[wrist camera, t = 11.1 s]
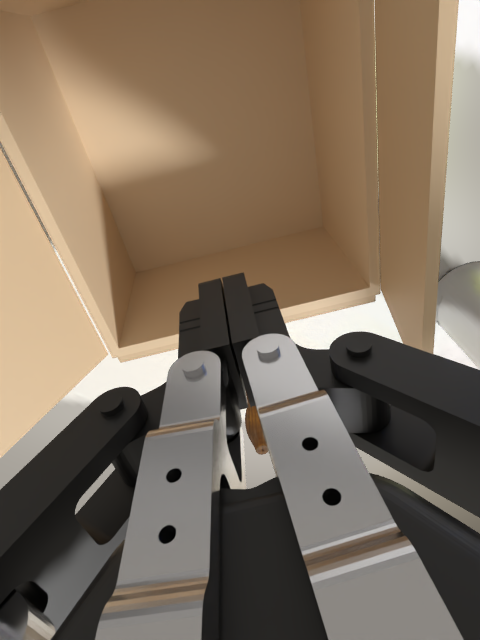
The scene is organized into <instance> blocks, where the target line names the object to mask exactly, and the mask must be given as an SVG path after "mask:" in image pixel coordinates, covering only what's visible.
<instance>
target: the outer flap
mask: <svg viewBox="0 0 480 640" xmlns="http://www.w3.org/2000/svg"><path fill="white" fill-rule="evenodd" d="M107 355H108V353H107V351H106V349H105V347H104V345H103V343H102V341H101V339H100V338H99V336H98V334H97V332H96V330H95V328H94V326H93V324H92V322H91V320H90V318H89V317H88V315H87V313H86V311H85V309H84V307H83V305H82V303H81V301H80V299H79V297H78V296H77V294H76V292H75V290H74V288H73V286H72V284H71V282H70V280H69V278H68V276H67V274H66V273H65V271H64V269H63V267H62V265H61V263H60V261H59V259H58V257H57V255H56V253H55V252H54V250H53V248H52V246H51V244H50V242H49V240H48V238H47V236H46V234H45V232H44V230H43V229H42V227H41V225H40V223H39V221H38V219H37V217H36V215H35V213H34V211H33V209H32V208H31V206H30V204H29V202H28V200H27V198H26V196H25V194H24V192H23V190H22V188H21V187H20V185H19V183H18V181H17V179H16V177H15V175H14V173H13V171H12V169H11V167H10V165H9V164H8V162H7V160H6V158H5V156H4V154H3V152H2V150H1V148H0V458H1V457H2V456H3V455H4V454H5V453H6V452H7V451H8V450H9V449H10V448H11V447H12V446H13V445H14V444H15V443H16V442H18V441H19V440H20V439H21V438H22V437H23V436H24V435H25V434H26V433H27V432H28V431H29V430H30V429H31V428H32V427H33V426H34V425H35V424H36V423H37V422H38V421H39V420H40V419H42V418H43V416H45V415H46V413H48V412H49V411H50V410H51V409H52V408H53V407H54V406H55V405H56V404H57V403H58V402H59V401H60V400H61V399H62V398H63V397H64V396H65V395H67V394H68V393H69V392H70V391H71V390H72V389H73V388H74V387H75V386H76V385H77V384H78V383H79V382H80V381H81V380H82V379H83V378H84V377H85V376H86V375H87V374H88V373H89V372H90V371H91V370H93V369H94V368H95V367H96V366H97V365H98V364H99V363H100V362H101V361H102V360H103V359H104V358H105V357H106V356H107Z"/></svg>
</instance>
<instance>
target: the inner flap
mask: <svg viewBox="0 0 480 640" xmlns="http://www.w3.org/2000/svg"><path fill="white" fill-rule="evenodd" d="M458 2H459V0H375V42H376V90H377V135H378V136H377V137H378V185H379V232H380V280H381V291H382V293H383V295H384V298H385V300H386V303H387V305H388V308H389V310H390V312H391V315H392V317H393V320H394V322H395V325H396V327H397V329H398V332H399V334H400V337H401V339H402V341H403V344H405V345H408V346H411V347H414V348H417V349H420V350H423V351H426V352H428V353H431V354H433V348H434V334H435V320H436V306H437V293H438V279H439V265H440V251H441V237H442V224H443V210H444V196H445V182H446V168H447V154H448V140H449V126H450V113H451V99H452V85H453V71H454V58H455V44H456V30H457V16H458Z"/></svg>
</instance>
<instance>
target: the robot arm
mask: <svg viewBox="0 0 480 640" xmlns="http://www.w3.org/2000/svg"><path fill="white" fill-rule="evenodd" d="M222 281H223V284H222ZM222 281H221V278H218V279H214V280H210V281H206V282H202V283H199V284H198V289H199V299H196V300H192V301H188V302H186V303H185V304H184V306H183V308H182V309H181V311H180V312H179V346H178V360H176V361H175V362H174V363H173V364H172V366H171V367H170V369H169V372H168V377H167V382H165V383H164V384H163V385H161V386H160V387H158V388H156V389H154V390H152V391H150V392H148V393H146V394H144V395H142V396H140V394H139V393H138V391H136V390H135V389H133V388H130V387H119V388H115V389H112V390H109V391H107V392H105V393H103V394H102V395H100V396H99V397H98V398H96V399H95V400H94V401H93V402H92V403H91V404H90V405H89V406H88V407H87V408H86V409H85V410H84V411H83V412H82V413H81V414H80V415H79V416H77V417H76V418H75V419H74V420H73V421H72V422H71V423H70V424H69V425H68V426H67V427H66V428H65V429H64V430H63V431H62V432H61V433H60V434H58V435H57V436H56V437H55V438H54V439H53V440H52V441H51V442H50V443H49V444H48V445H47V446H46V447H45V448H44V449H43V450H42V451H41V452H40V453H38V455H36V456H35V457H34V458H33V459H32V460H31V461H30V462H29V463H28V464H27V465H26V466H25V467H24V468H23V469H22V470H21V471H20V472H19V473H17V474H16V476H14V477H13V478H12V479H11V480H10V481H9V482H8V483H7V484H6V485H5V486H4V487H3V488H2V489H1V490H0V640H480V534H479V533H478V532H476V531H475V530H473V529H471V528H470V527H468V526H467V525H465V524H463V523H462V522H460V521H459V520H457V519H456V518H454V517H452V516H451V515H449V514H448V513H446V512H444V511H443V510H441V509H440V508H438V507H436V506H435V505H433V504H432V503H430V502H428V501H427V500H425V499H424V498H422V497H421V496H419V495H417V494H416V493H414V492H413V491H411V490H409V489H408V488H406V487H404V486H403V485H401V484H398V483H396V482H394V481H392V480H390V479H387V478H385V477H381V476H379V475H375V474H371V473H369V472H368V470H367V468H366V466H365V464H364V463H363V461H362V459H361V457H360V455H359V453H358V451H357V449H356V447H357V448H358V449H360V450H362V451H364V452H365V453H367V454H369V455H371V456H372V457H374V458H376V459H378V460H380V461H381V462H383V463H385V464H386V465H388V466H390V467H392V468H393V469H395V470H397V471H399V472H400V473H402V474H404V475H406V476H407V477H409V478H411V479H413V480H414V481H416V482H418V483H420V484H422V485H424V486H425V487H427V488H428V489H430V490H432V491H434V492H435V493H437V494H439V495H441V496H443V497H444V498H446V499H448V500H450V501H451V502H453V503H455V504H457V505H458V506H460V507H462V508H464V509H465V510H467V511H469V512H471V513H473V514H474V515H476V516H478V517H479V518H480V370H478V369H475V368H472V367H469V366H466V365H463V364H460V363H457V362H455V361H452V360H449V359H446V358H443V357H440V356H437V355H434V354H431V353H428V352H426V351H423V350H420V349H417V348H414V347H411V346H408V345H405V344H402V343H400V342H397V341H394V340H391V339H388V338H385V337H382V336H379V335H376V334H373V333H369V332H351V333H347V334H344V335H342V336H340V337H338V338H337V339H336V340H334V341H333V343H332V344H331V346H330V349H329V350H315V349H307V348H303V347H301V346H299V345H297V344H295V343H294V341H293V340H292V339H291V338H290V336H289V334H288V331H287V328H286V325H285V323H284V320H283V317H282V314H281V311H280V308H279V306H278V303H277V301H276V297H275V294H274V292H273V289H271V288H270V287H268V286H267V285H266V284H264V283H261V284H257V285H253V286H249V287H247V283H246V279H245V275H244V272H242V273H238V274H234V275H230V276H226V277H222ZM223 287H224V288H223ZM435 321H436V322H437V323H438V324H439V325H440V326H441V327H442V328H443V330H444V331H445V332H446V333H447V334H448V335H449V336H450V337H451V339H452V340H453V341H454V342H455V343H456V344H457V345H458V346H459V347H460V348H461V350H462V351H463V352H464V353H465V354H466V355H467V356H468V357H469V358H470V359H471V361H472V362H473V363H474V364H475V365H476V366H477V367H478V368H479V369H480V261H478V262H470V263H466V264H463V265H461V266H459V267H457V268H455V269H453V270H452V271H450V272H449V273H448V274H446V275H445V276H444V277H443V278H442V279H441V280H440V281H439V282H438V293H437V306H436V320H435ZM245 390H246V392H245ZM246 393H247V396H248V400H249V403H250V407H252V406H256V409H257V413H258V416H259V420H260V424H261V427H262V431H263V434H264V437H265V441H266V444H267V447H268V451H269V454H270V457H271V461H272V464H273V467H274V471H275V474H276V477H275V478H273V479H271V480H269V481H267V482H265V483H263V484H261V485H259V486H257V487H254V488H251V489H246V475H245V455H244V436H243V430H242V426H241V413H240V409H245V408H248V403H247V397H246ZM111 463H112V464H113V465H114V467H115V470H114V471H113V472H112V474H111V475H110V476H109V477H108V478H107V479H106V480H105V482H104V483H103V484H102V485H101V486H100V487H99V489H98V490H97V491H96V492H95V493H94V494H93V495H92V497H91V498H90V499H89V500H88V501H87V502H86V504H85V505H84V506H83V507H82V508H81V509H80V510H79V511H78V513H77V514H76V515H75V508H76V505H77V503H78V501H79V499H80V498H81V497H82V495H83V494H84V493H85V492H86V491H87V490H88V489H89V487H90V486H91V485H92V484H93V483H94V482H95V481H96V480H97V478H98V477H99V476H100V475H101V474H102V473H103V471H104V470H105V469H106V468H107V467H108V466H109V465H110V464H111Z"/></svg>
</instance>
